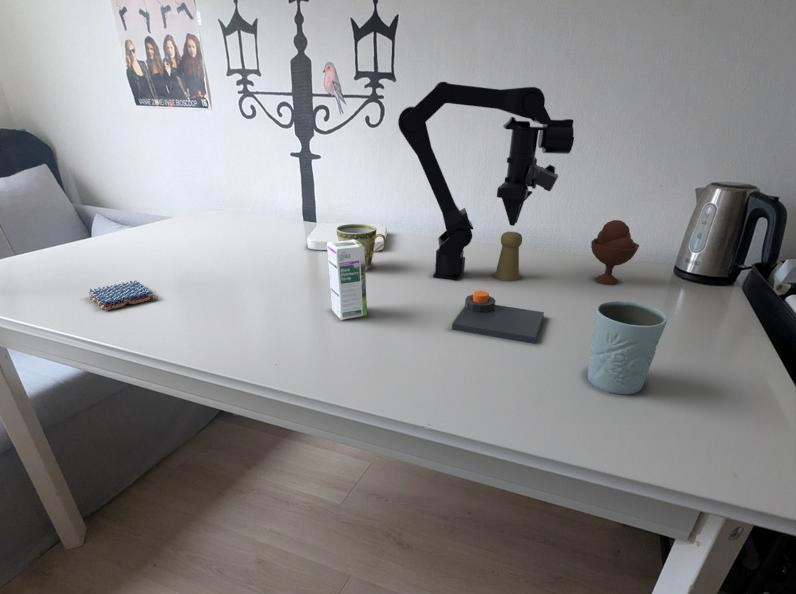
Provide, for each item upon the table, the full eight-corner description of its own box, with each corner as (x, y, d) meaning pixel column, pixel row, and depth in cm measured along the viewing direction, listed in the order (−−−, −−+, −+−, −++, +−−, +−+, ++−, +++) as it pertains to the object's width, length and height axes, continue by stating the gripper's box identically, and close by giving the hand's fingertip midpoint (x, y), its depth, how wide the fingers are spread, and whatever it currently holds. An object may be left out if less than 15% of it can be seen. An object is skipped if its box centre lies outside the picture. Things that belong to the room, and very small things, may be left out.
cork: (520, 274, 125) (526, 231, 119) (516, 281, 120) (523, 236, 114) (497, 271, 126) (502, 228, 121) (492, 278, 121) (497, 234, 116)
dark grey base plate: (451, 329, 95) (452, 315, 93) (468, 305, 106) (469, 292, 104) (534, 344, 90) (536, 329, 89) (543, 317, 101) (545, 303, 100)
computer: (382, 252, 138) (382, 242, 137) (305, 250, 138) (304, 240, 137) (387, 233, 157) (387, 224, 156) (319, 231, 157) (319, 222, 156)
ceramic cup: (331, 270, 124) (328, 230, 119) (350, 259, 132) (348, 222, 127) (377, 277, 120) (376, 236, 115) (393, 266, 128) (393, 227, 123)
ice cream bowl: (633, 290, 117) (650, 226, 109) (585, 285, 118) (598, 223, 111) (626, 276, 126) (641, 216, 118) (581, 272, 127) (593, 213, 120)
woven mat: (139, 286, 110) (137, 278, 109) (157, 300, 104) (154, 291, 103) (88, 297, 104) (85, 288, 103) (103, 312, 98) (100, 303, 97)
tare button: (471, 302, 100) (471, 294, 99) (474, 297, 103) (475, 289, 102) (486, 305, 99) (487, 296, 98) (489, 299, 102) (490, 291, 101)
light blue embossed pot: (639, 404, 74) (661, 332, 67) (573, 384, 78) (588, 315, 72) (650, 376, 81) (672, 309, 75) (589, 359, 85) (605, 295, 79)
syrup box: (341, 321, 97) (336, 248, 89) (331, 310, 101) (326, 240, 94) (367, 316, 99) (365, 245, 92) (356, 306, 104) (354, 237, 96)
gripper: (554, 159, 98) (542, 237, 106) (563, 151, 113) (551, 219, 122) (500, 155, 101) (492, 231, 110) (515, 148, 117) (507, 215, 125)
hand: (513, 224), depth 116 cm, fingers open, 3 cm apart
